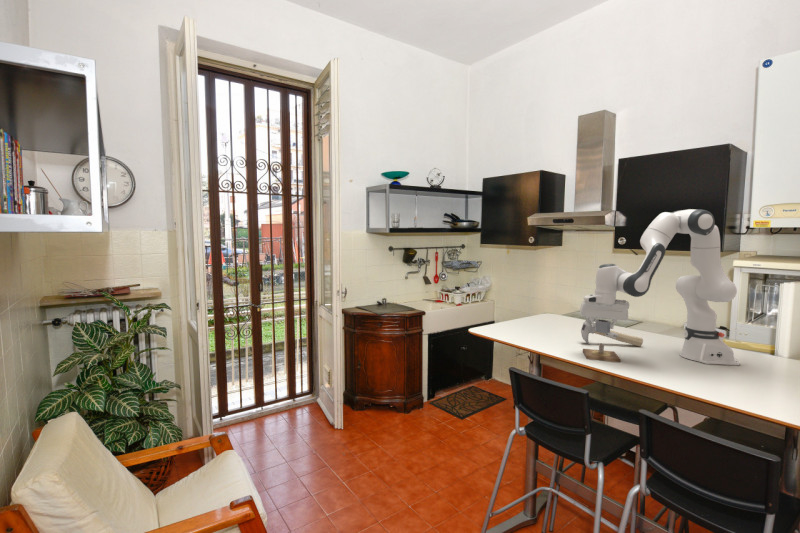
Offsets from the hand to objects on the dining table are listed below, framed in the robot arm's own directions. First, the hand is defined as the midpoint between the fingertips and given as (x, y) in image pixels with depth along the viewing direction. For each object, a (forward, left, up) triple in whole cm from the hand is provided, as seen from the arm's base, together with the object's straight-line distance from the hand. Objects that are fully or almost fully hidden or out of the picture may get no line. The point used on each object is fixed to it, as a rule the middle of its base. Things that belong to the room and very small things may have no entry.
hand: (602, 327), depth 190 cm
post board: (0, 0, -14) cm, 14 cm away
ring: (0, 0, -2) cm, 2 cm away
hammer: (-10, -24, -14) cm, 30 cm away
